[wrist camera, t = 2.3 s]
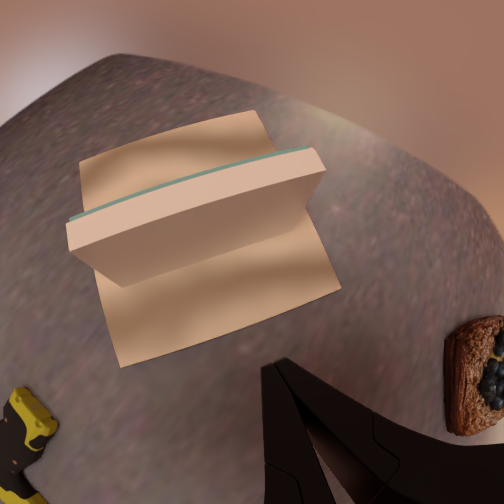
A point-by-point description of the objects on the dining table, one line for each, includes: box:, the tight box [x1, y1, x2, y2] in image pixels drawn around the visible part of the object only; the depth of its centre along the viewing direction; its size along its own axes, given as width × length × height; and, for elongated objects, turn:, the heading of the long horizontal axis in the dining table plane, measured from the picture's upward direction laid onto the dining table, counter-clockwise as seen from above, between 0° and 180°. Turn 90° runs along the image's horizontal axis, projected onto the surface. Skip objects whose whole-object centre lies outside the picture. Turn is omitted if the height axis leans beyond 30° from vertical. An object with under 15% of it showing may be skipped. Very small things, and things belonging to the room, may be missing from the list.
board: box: [79, 110, 341, 368], centre depth 24 cm, size 19×18×1 cm
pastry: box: [444, 315, 504, 436], centre depth 20 cm, size 11×12×6 cm
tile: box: [66, 145, 326, 288], centre depth 19 cm, size 2×14×9 cm, turn 111°
